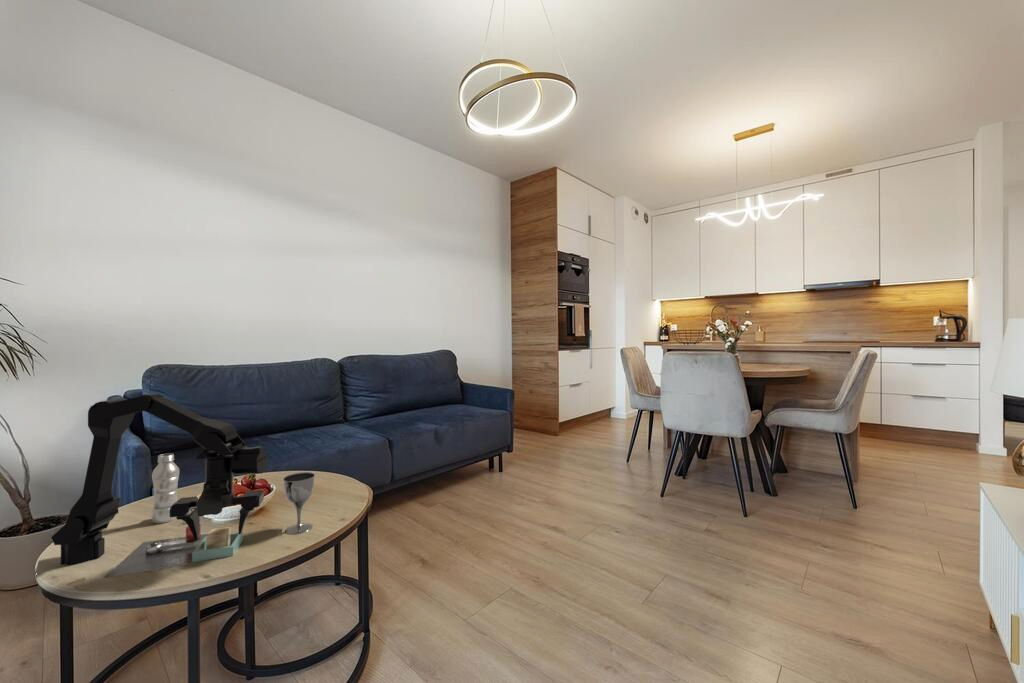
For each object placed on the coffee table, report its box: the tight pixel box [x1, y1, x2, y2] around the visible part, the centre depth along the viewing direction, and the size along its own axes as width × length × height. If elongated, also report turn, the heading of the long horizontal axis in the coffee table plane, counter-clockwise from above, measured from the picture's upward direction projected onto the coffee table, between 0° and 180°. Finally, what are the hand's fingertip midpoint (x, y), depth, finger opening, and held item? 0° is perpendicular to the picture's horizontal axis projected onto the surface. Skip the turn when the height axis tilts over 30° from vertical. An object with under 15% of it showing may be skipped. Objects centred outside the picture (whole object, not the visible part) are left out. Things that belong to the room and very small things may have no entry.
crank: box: [146, 524, 202, 554], centre depth 103 cm, size 11×3×5 cm, turn 113°
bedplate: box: [104, 533, 209, 578], centre depth 101 cm, size 15×17×1 cm
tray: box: [191, 531, 244, 563], centre depth 103 cm, size 8×8×3 cm
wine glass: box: [282, 471, 315, 535], centre depth 116 cm, size 8×8×15 cm
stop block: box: [206, 526, 231, 549], centre depth 103 cm, size 4×4×5 cm
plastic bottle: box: [150, 452, 180, 525], centre depth 120 cm, size 6×7×20 cm
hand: (218, 536), depth 103 cm, fingers open, 9 cm apart
